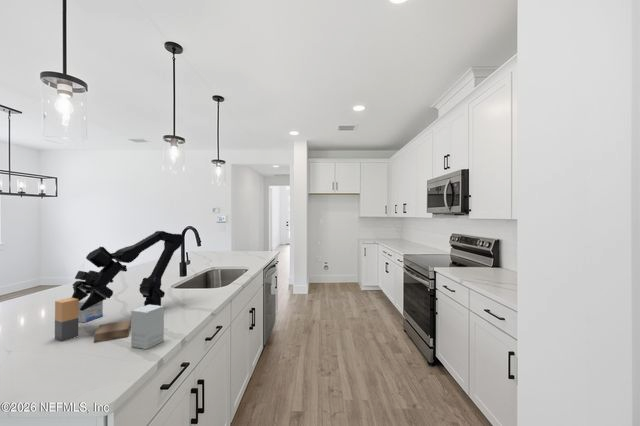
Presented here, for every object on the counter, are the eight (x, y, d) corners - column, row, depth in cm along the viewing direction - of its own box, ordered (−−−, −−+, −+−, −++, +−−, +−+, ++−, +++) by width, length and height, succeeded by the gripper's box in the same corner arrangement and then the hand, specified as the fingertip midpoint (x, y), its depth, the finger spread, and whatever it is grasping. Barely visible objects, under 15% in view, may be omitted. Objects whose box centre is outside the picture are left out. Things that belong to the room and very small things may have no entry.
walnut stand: (131, 327, 114) (131, 320, 114) (127, 336, 105) (127, 328, 105) (100, 332, 109) (100, 324, 109) (94, 342, 100) (94, 334, 100)
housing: (71, 333, 107) (71, 297, 108) (78, 336, 105) (78, 299, 105) (54, 339, 103) (55, 301, 103) (61, 341, 101) (62, 302, 101)
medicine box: (85, 322, 119) (85, 302, 119) (76, 322, 120) (77, 301, 120) (103, 316, 127) (103, 297, 127) (94, 315, 127) (95, 296, 128)
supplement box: (164, 340, 102) (164, 305, 102) (145, 349, 95) (146, 312, 95) (149, 337, 104) (149, 303, 104) (130, 346, 97) (130, 310, 97)
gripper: (78, 260, 115) (42, 294, 105) (104, 264, 107) (68, 300, 97) (100, 276, 122) (68, 309, 112) (126, 280, 114) (94, 316, 104)
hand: (74, 308), depth 106 cm, fingers open, 9 cm apart
